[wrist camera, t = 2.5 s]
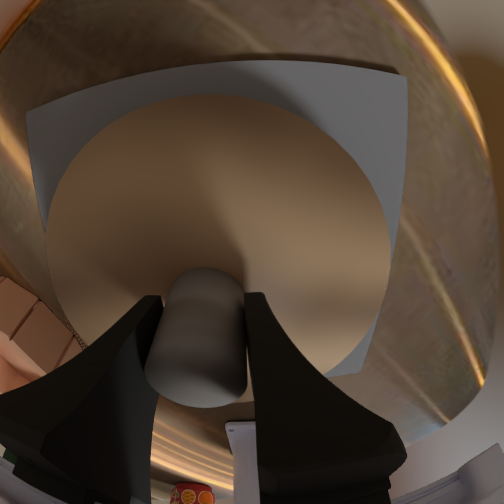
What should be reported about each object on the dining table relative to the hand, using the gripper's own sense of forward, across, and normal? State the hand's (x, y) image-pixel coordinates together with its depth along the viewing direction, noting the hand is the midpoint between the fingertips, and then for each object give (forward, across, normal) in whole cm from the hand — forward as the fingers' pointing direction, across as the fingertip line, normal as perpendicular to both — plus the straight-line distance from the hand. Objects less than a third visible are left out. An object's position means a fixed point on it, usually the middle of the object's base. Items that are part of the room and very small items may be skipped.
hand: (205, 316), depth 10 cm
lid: (+2, 0, 0) cm, 2 cm away
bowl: (+4, +17, +7) cm, 19 cm away
